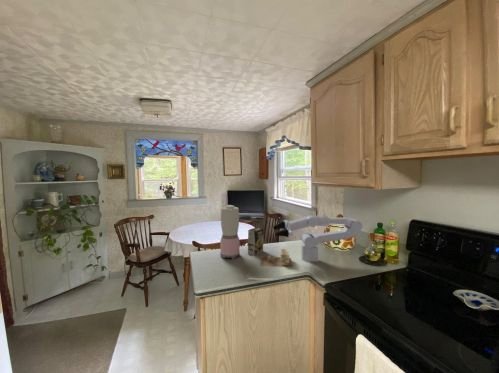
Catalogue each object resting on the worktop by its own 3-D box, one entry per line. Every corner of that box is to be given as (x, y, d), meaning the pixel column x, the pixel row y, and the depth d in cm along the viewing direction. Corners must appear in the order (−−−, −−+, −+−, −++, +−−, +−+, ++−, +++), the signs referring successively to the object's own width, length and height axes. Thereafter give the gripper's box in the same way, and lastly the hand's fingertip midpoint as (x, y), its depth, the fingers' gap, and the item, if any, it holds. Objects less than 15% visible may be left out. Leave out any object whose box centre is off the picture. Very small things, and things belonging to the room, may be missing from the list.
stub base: (290, 259, 135) (290, 253, 134) (292, 268, 122) (292, 261, 121) (261, 258, 136) (261, 251, 136) (260, 267, 124) (260, 260, 123)
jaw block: (288, 258, 133) (288, 249, 132) (289, 265, 124) (289, 255, 123) (280, 258, 133) (280, 248, 133) (281, 265, 124) (281, 254, 124)
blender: (237, 260, 133) (237, 207, 131) (218, 259, 135) (217, 207, 132) (241, 250, 149) (241, 203, 146) (223, 249, 150) (223, 203, 148)
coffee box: (255, 256, 139) (255, 231, 138) (247, 254, 143) (247, 229, 141) (263, 252, 146) (263, 228, 145) (255, 250, 150) (255, 226, 149)
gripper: (292, 213, 137) (271, 219, 138) (298, 225, 123) (275, 231, 124) (294, 223, 139) (273, 229, 140) (300, 235, 126) (277, 242, 126)
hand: (274, 231), depth 132 cm, fingers open, 7 cm apart
